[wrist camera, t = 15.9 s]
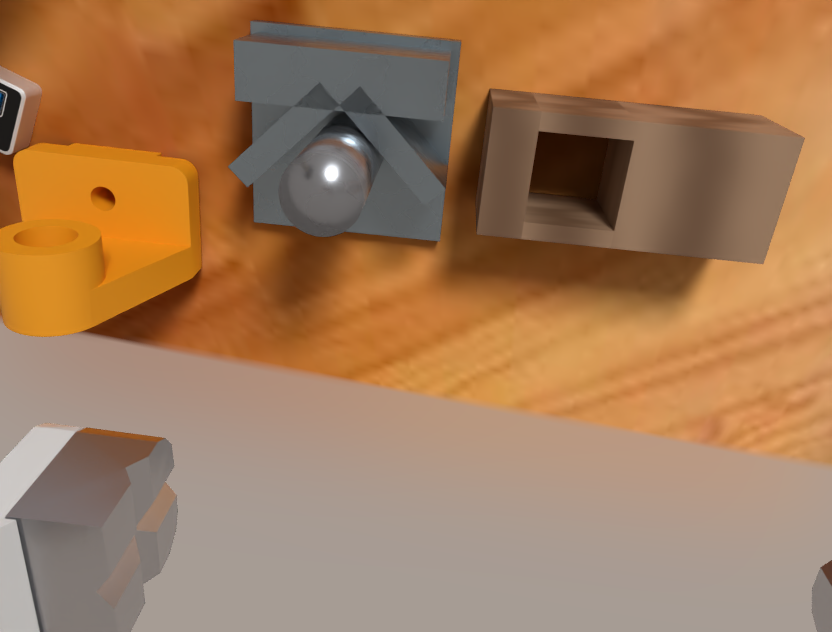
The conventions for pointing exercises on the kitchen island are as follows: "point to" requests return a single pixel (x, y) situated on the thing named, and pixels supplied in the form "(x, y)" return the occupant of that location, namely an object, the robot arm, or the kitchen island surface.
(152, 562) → the robot arm
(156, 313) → the kitchen island surface
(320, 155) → the steel axle
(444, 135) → the V-block
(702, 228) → the walnut beam
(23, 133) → the multiport hub
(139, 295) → the bracket
